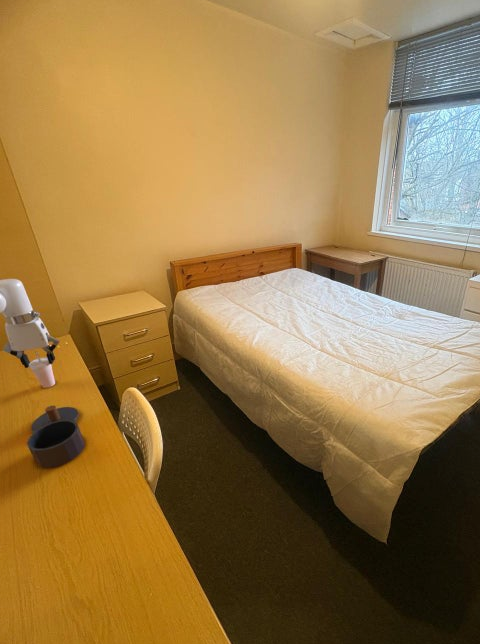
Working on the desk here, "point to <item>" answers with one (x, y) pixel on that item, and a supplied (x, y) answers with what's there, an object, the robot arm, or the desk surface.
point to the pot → (56, 443)
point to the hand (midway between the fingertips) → (40, 363)
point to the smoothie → (42, 371)
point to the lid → (54, 416)
